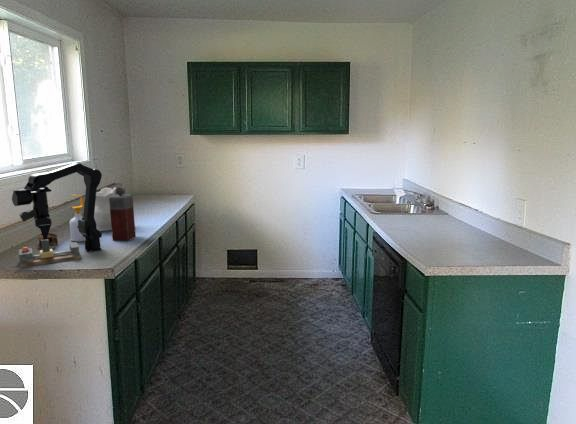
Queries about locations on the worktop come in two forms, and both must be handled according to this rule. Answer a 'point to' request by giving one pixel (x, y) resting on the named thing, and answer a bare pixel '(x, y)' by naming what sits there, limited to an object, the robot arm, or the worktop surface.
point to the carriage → (46, 249)
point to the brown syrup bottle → (122, 216)
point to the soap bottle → (76, 223)
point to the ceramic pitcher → (103, 209)
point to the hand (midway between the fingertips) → (44, 236)
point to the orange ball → (25, 249)
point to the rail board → (32, 260)
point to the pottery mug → (50, 237)
